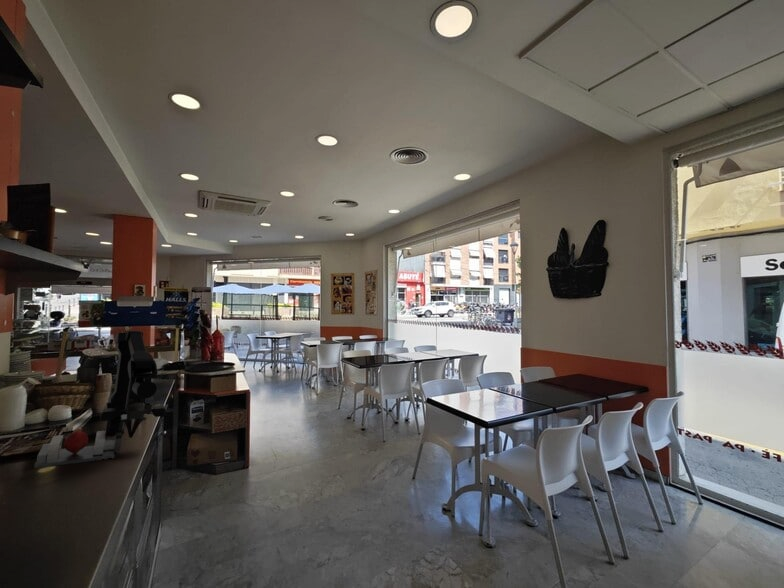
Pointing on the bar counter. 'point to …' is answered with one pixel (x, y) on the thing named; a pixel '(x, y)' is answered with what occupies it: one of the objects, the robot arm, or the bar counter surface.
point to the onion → (76, 441)
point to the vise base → (67, 454)
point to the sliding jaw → (106, 443)
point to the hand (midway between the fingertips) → (130, 437)
